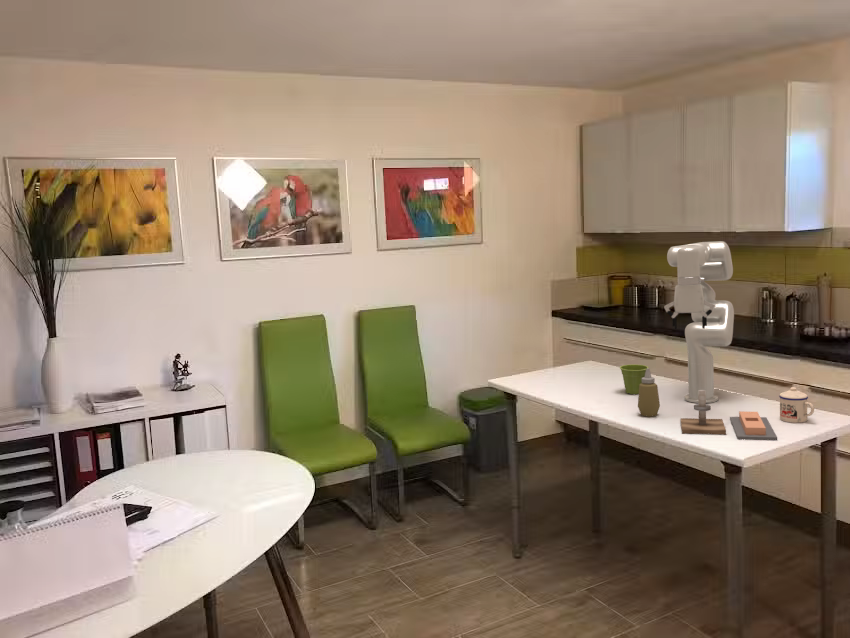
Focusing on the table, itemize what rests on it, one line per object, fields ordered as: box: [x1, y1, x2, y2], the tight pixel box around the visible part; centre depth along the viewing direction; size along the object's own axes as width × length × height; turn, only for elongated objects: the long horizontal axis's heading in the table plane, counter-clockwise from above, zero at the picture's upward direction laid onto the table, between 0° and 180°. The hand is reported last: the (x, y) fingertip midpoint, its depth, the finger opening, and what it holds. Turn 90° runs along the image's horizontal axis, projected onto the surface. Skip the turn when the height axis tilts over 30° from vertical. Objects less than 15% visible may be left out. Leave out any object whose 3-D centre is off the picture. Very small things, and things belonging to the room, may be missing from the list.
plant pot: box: [619, 363, 650, 395], centre depth 304 cm, size 12×12×11 cm
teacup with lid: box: [778, 386, 815, 424], centre depth 250 cm, size 12×9×12 cm
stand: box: [680, 390, 727, 436], centre depth 248 cm, size 14×14×14 cm
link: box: [738, 411, 766, 435], centre depth 244 cm, size 20×6×2 cm, turn 162°
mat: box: [729, 416, 778, 441], centre depth 244 cm, size 24×12×1 cm, turn 162°
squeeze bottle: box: [637, 368, 661, 418], centre depth 269 cm, size 8×8×18 cm
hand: (689, 328), depth 260 cm, fingers open, 9 cm apart
